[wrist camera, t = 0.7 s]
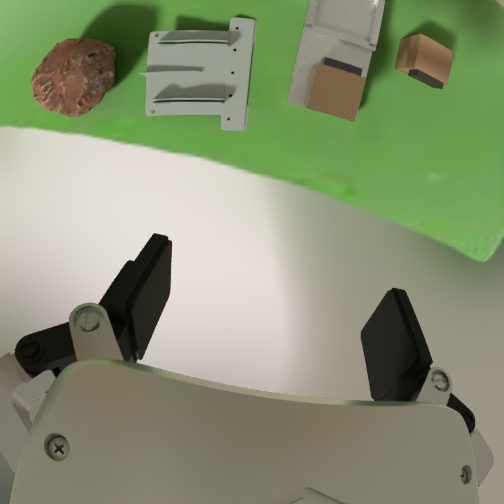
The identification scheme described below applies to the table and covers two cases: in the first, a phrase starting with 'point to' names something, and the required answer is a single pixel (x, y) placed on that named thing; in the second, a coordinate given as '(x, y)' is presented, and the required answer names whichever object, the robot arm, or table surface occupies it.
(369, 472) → the robot arm
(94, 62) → the decorative rock
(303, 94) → the white desk organizer
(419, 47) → the wood grain cube
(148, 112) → the metal bracket
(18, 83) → the table surface
